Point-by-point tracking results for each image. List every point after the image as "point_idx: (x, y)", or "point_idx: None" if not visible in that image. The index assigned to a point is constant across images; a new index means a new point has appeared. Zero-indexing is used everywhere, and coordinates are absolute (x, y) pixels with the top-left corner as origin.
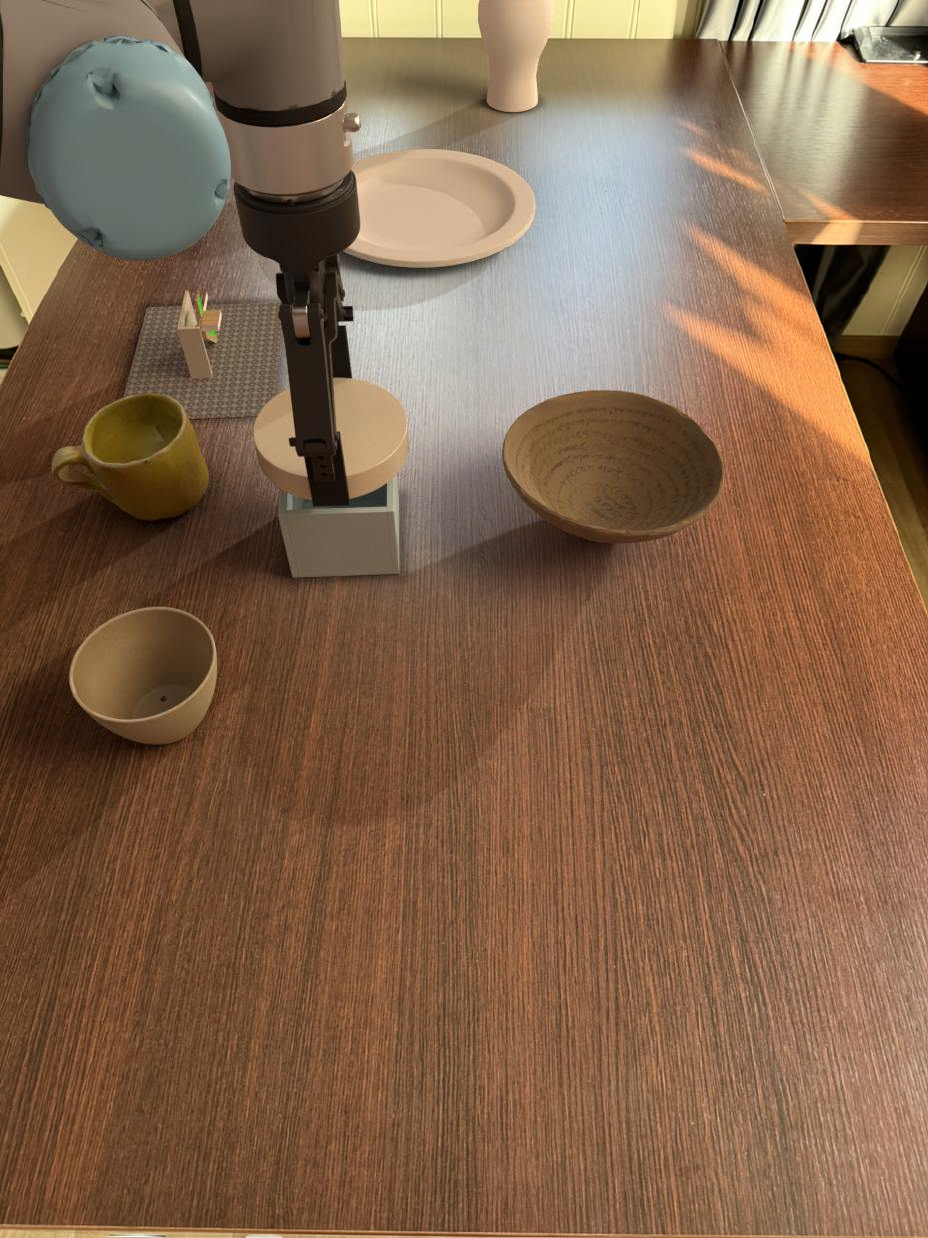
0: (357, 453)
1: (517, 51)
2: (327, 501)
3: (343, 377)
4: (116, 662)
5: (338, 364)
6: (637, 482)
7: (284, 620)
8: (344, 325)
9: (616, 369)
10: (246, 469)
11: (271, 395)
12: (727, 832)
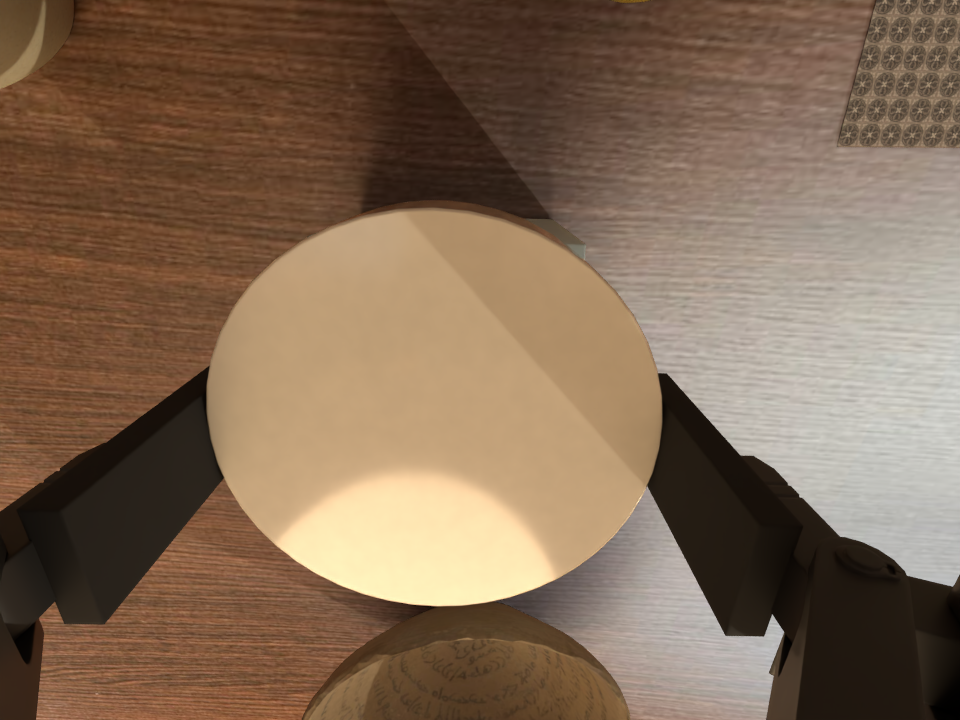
0: (315, 507)
1: None
2: None
3: (654, 472)
4: None
5: (672, 495)
6: (501, 692)
7: (262, 203)
8: (764, 630)
9: (763, 677)
10: (671, 95)
11: (909, 140)
12: (45, 663)
